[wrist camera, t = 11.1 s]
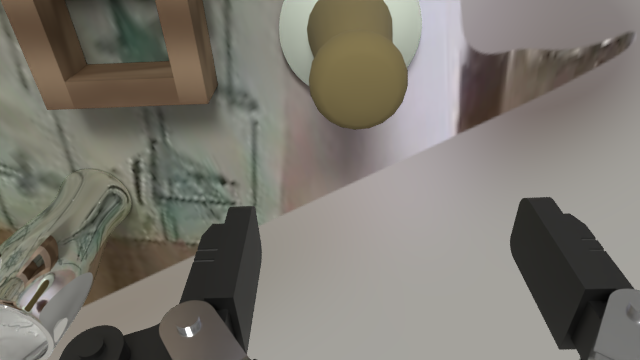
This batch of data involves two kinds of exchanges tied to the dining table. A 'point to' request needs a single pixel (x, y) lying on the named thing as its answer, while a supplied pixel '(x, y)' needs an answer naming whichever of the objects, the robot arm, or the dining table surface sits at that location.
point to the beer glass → (56, 263)
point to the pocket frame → (118, 78)
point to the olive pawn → (355, 63)
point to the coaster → (296, 39)
